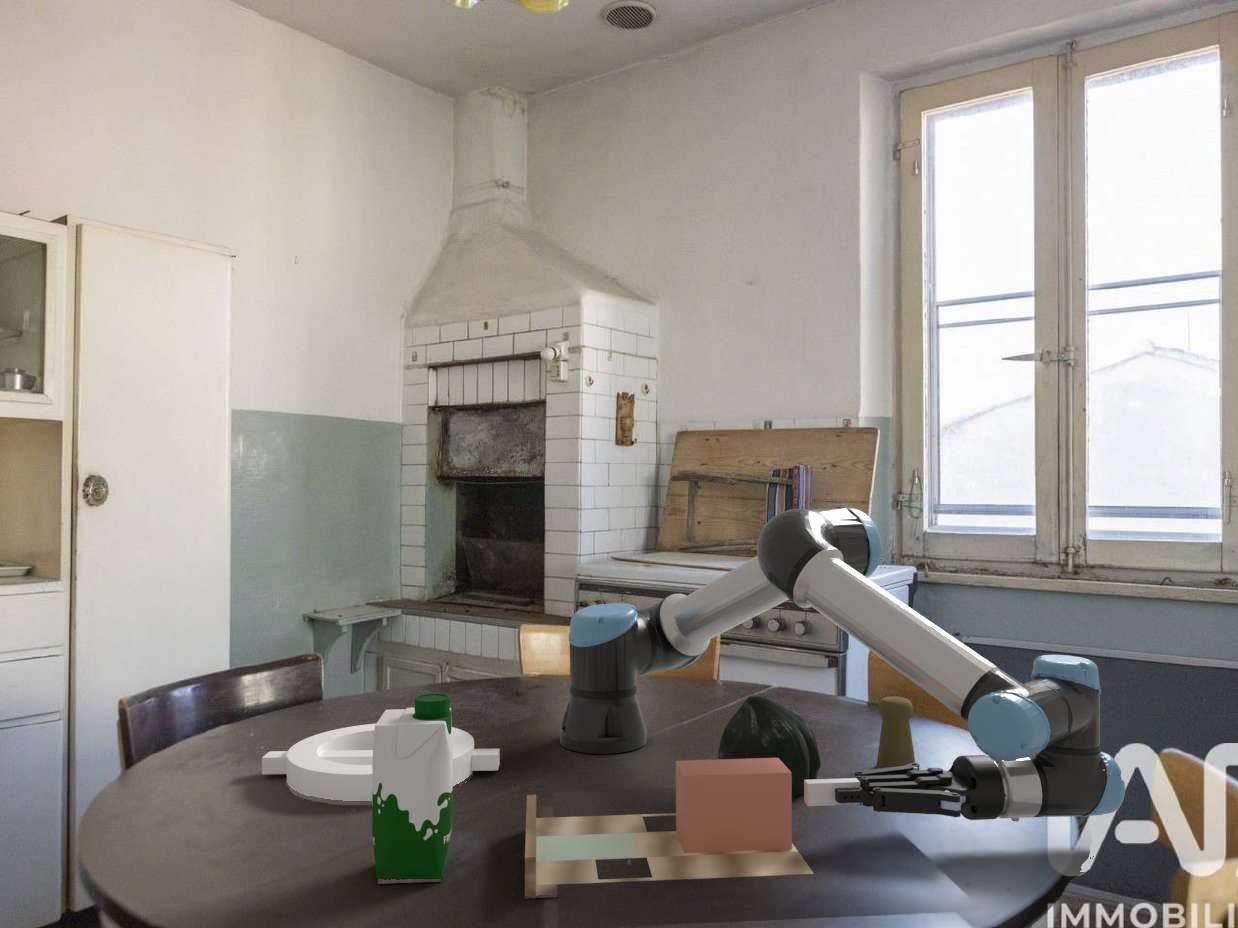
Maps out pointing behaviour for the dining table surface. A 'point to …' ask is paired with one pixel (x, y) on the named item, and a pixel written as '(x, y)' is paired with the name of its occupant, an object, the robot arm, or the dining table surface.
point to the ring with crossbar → (358, 762)
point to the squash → (772, 739)
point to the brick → (733, 805)
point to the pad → (585, 847)
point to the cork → (895, 733)
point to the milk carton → (413, 790)
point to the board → (643, 854)
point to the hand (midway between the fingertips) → (806, 792)
